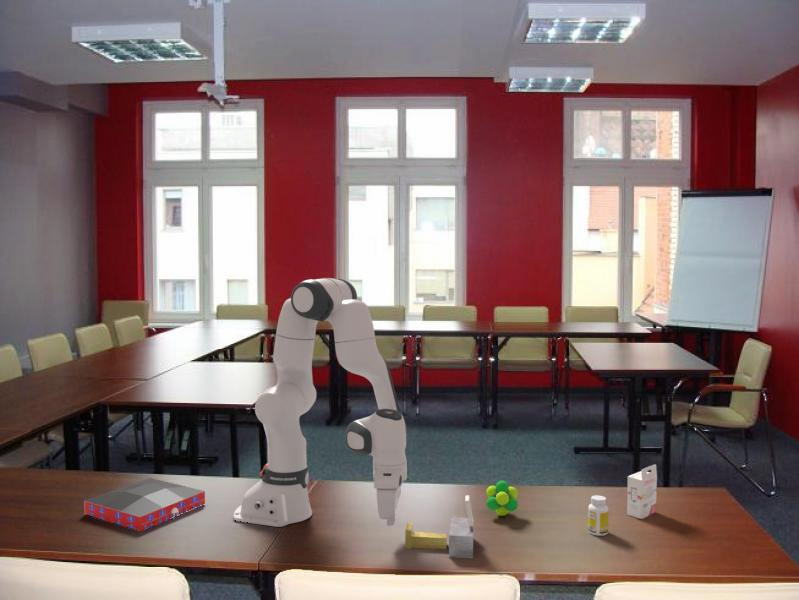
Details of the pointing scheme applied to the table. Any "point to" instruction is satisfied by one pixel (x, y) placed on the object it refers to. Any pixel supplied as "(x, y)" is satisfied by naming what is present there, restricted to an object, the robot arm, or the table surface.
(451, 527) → the block
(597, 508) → the supplement bottle
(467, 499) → the bar
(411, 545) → the lynch pin
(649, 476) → the ink cartridge box
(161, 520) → the building model
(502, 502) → the molecule model
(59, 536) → the table surface
